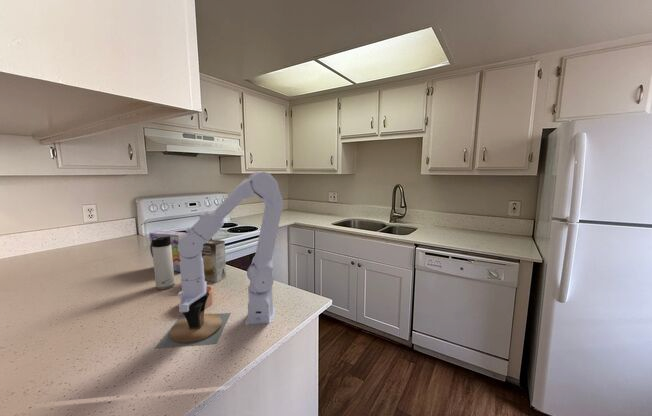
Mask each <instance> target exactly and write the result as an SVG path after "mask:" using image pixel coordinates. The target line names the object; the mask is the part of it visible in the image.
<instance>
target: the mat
mask: <svg viewBox="0 0 652 416" xmlns="http://www.w3.org/2000/svg"><path fill="white" fill-rule="evenodd" d="M214 314H215V315H218V316H219V317H220V318H221V320H222V325H221V328H220V329H219V330H218V331H217V332H216V333H215V334H213V335H212V336H210V337H208V338H206V339H204V340H201V341H198V342H193V343H177V342H174V341H173V340H172V339H171V337H170V331H171V329H172V327H173V326H174V325H175V324H177V323H178V322H180V321H181V320H183V319H185V318H186V317H185V316H184V315H180V316H179V317H178V318H177V320H176V321H175V322H174V323H173V325H172V326H170V328H169V330H168V331H167V332H166V333H165V335H164V336H163V337H162V339H160V341H159V342H158V343H157V345H156V346H155V347H153V349H154V350H155V349H167V348H168V349H169V348H181V347H193V346H204V345H205V346H206V345H207V346H208V345H217V344H218V341H219V340H220V338H221V336H222V333H223V331H224V329H225V327H226V324H227V323H228V321H229V318H230V317H231V314H232V312H224V313H221V312H220V313H214Z"/></svg>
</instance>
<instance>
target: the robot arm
mask: <svg viewBox="0 0 652 416" xmlns="http://www.w3.org/2000/svg"><path fill="white" fill-rule="evenodd" d="M256 196H258V197H259V199H260V200H261V201H262V203H263V204H264V211H263V216H262V221H261V225H260V230H259V236H258V239H257V240H258V241H257V245H256V250H255V255H254V256H253V258H252V260H251V264H250V265H249V267H248V268H247V271H246V277H247V278H248V280H249V281H250V283H249V285H248V287H247V293H248V296H247V297H248V303H247V316H246V320H245V322H244V324H245V325H258V324H272V323H274V317H275V311H276V306H274V300H273V295H274V294H273V285H274V275H273V270H274V265H273V255H274V251H275V250H274V249H275V245H276V241H277V234H278V230H279V226H280V221H281V216H282V212H283V211H282V210H283V206H284V200H283V198H282V194H281V191H280V188H279V183H278V181H277V180H276V179H275V178H274V176H273V175H272V174H271V173H269V172H265V171H261V172H259V171H255V172H252V173H251V174H250V175H248V177H247V178H245V179H243V180H242V181H241V182H240V183H239V184H238V185H237V186H236V187H234V189H233V190H232V191H231V192H230V193H229V195H227V196H226V197H225V199H224V200H223V201H222V202H221V203H220V204H219V206H218V207H217V208H216V209H215V210H212V211H206V212H205V213H203V212H202V213H200V215H199V216H198V218H199V219H198V220H197V222H195V223H194V224H193V225H192V226H191V227H188V228H187V229H186V230H185V234H184V235H182V236H181V238H180V239H179V242H178V252H179V253H180V256H179V257H180V283H181V290H180V291H179V292H178V293H177V297H178V298H180V297H181V303H180V302H179V304H178V310H179V313H181V314H183V316H185V317H186V320H187V322H188V325H189V327H190V328H195V327H198V325H199V317H200V311H203V313H204V314H205V311H206V309H205V305H206V301H207V298H208V296H209V292H206V288H207V285H208V283H207V282H208V281H205V277H204V264H203V258H202V253H201V252H202V249H203V244H205V243H207V242H208V241H209V240H210V239H212V238H213V237H214V236H215V235H216V234H217V233H218V232H219V231H220V230H221V228H223V226H224V219H225V218H226V217H227V216H228V215H229V214H231V212H232V211H233V210H234V209H235V208H236V207H237V206H239V204H240V203H241V202H243V201H244V200H245V199H249V198H252V197H256Z"/></svg>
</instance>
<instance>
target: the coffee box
mask: <svg viewBox="0 0 652 416" xmlns="http://www.w3.org/2000/svg"><path fill="white" fill-rule="evenodd" d="M225 244H226V243H225V240H221V239H212V238H211V239H210V240H209V241H208V242H207V243H205V244H203V249H202V252H201V253H202V258H203V264H204V277H205V281H207V282H211V283H212V282H213V283H218V282H220V281H222V280H224V279H225V278H226V277H227V266H226V265H227V264H226V247H225V246H226V245H225Z"/></svg>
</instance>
